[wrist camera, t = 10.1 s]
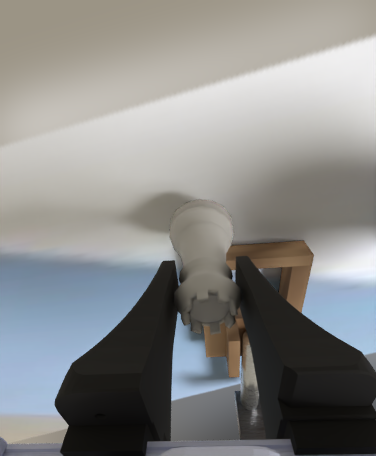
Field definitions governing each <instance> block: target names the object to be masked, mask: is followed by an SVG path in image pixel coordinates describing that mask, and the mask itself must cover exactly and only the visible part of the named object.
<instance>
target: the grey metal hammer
mask: <svg viewBox="0 0 376 456" xmlns="http://www.w3.org/2000/svg"><path fill="white" fill-rule="evenodd" d="M235 405H236V413H237V420H238V427H239V435H240V440H266V436H265V429H264V423H263V416H262V410H261V404H260V398H259V391H258V385H257V380H256V374H255V368H254V363H253V357H252V352H251V347H250V343H249V339H248V335H247V332H245V333H244V334H243V341H242V367H241V391H235Z"/></svg>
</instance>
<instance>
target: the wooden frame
mask: <svg viewBox="0 0 376 456" xmlns="http://www.w3.org/2000/svg"><path fill="white" fill-rule="evenodd" d="M236 256H248V257H249V258H250V259H251V261H252V262H253V263H254V265H255V266H256V267H257V269H260V268H276V267H282V272H281V279H280V286H279V294H280V295H281V296H282V297H283V298H284V299H286V300H287V301H288V302H289V303H290V304H291V305H292V306H293V307H294V308H296V309H297V310H298V311H299V312H302V307H303V303H304V298H305V294H306V289H307V285H308V280H309V275H310V271H311V266H312V262H313V257H314V255H313V253H312V252H311V250H310V249H309V247H308V246H307V245H306V243H305V242H304V241H291V242H277V243H262V244H248V245H233V246H230V248H229V249H228V252H227V253H226V264H227V265H228V266H229V267H230V268H231V270H236ZM237 312H238V315H234V316H235V321H236V323H235V324H234V325H233V326H232V327H231V328H230V329H229V328H228V327H226V326H225V322H224V323H222V324H220V330H221V333H218V334H212V335H211V333H210V326H204V335H205V346H206V357H223V356H226V358H227V366H228V373H229V377H239V367H240V356H242V341H243V334H244V333H245V332H246V328H245V325H244V321H243V318H242V314H241V310H240V307H239V309H238V310H237Z"/></svg>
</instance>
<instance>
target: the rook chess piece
mask: <svg viewBox="0 0 376 456" xmlns="http://www.w3.org/2000/svg"><path fill="white" fill-rule="evenodd" d="M169 231H170V240H171V242H172V245H173V247H174V250H175V251H176V252H177V253H178V255H179V256H180V257H181V258H182V263H183V269H182V270H181V271H180V277H179V281H180V283H181V285H180V286H179V287H178V289H177V290H176V292H175V294H174V304H175V306H176V309H177V311H178V312H179V313H180V314H181V320H182V322H183V324H184V326H185V325H188V324H190V322H191V331H193V332H195V333H198V334H201V332H202V326H210V333H211V335H212V334H218V333H221V330H220V324H222V323H224V322H225V326H226V327H228V328H229V329H230V328H231V327H232V326H233V325H234V324H235V323H236V321H235V316H234V315H238V312H237V310H238V309H239V307H240V305H241V301H242V298H243V297H242V293H241V289H240V288H239V286H238V285H237V284H236V283H235V282H234V281H233V280H232V277H233V275H232V272H231V268H230V267H229V266H228V265H227V264H226V253H227V252H228V249H229V248H230V246H231V243H232V239H233V235H234V231H233V224H232V220H231V215H230V214H229V213H228V212H227V210H226V209H225V208H224V207H223V206H222V205H220V204H218V203H216V202H214V201H211V200H201V199H198V200H194V201H191V202H187V203H185V204H184V205H182V206H181V207H180V208H178V209H177V210H176V211H175V213H174V215H173V216H172V218H171V220H170V229H169Z"/></svg>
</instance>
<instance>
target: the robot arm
mask: <svg viewBox="0 0 376 456" xmlns="http://www.w3.org/2000/svg"><path fill="white" fill-rule="evenodd" d="M235 283H236V284H237V285H238V286H239V288H240V289H241V293H242V297H243V298H242V301H241V305H240V310H241V314H242V318H243V321H244V325H245V328H246V332H247V335H248V339H249V343H250V347H251V352H252V357H253V363H254V368H255V374H256V380H257V385H258V391H259V398H260V404H261V410H262V416H263V423H264V429H265V436H266V440H212V441H170V438H171V436H170V435H171V434H170V433H171V384H172V356H173V343H174V336H175V328H176V321H177V313H178V311H177V309H176V306H175V304H174V294H175V292H176V290H177V289H178V287H179V286H178V279H177V273H176V266H175V260H172V261H163V262H162V263H161V265H160V267H159V269H158V271H157V273H156V275H155V276H154V278H153V280H152V281H151V283H150V285H149V286H148V288H147V289H146V291H145V292H144V294H143V295H142V296H141V298H140V299H139V301H138V302H137V303H136V305H135V306H134V307H133V308H132V310H131V311H130V312H129V313H128V314H127V315H126V317H125V318H124V319H123V320H122V321H121V322H120V323H119V324H118V325H117V326H116V327H115V328H114V329H113V330H112V331H111V332H110V333H109V334H108V335H107V336H106V337H104V338H103V339H102V340H101V341H100V342H99V343H98V344H97V345H95V346H94V347H93V348H92V349H90V350H89V351H88V352H86V353H85V354H84V355H83V356H81V357H80V358H79V359H77V360H76V361H75V362H73V363H72V365H71V367H70V369H69V370H68V372H67V374H66V376H65V378H64V380H63V383H62V385H61V387H60V390H59V392H58V394H57V397H56V399H55V407H56V409H57V411H58V412H59V414H60V415H61V416H62V417H63V419H64V420H65V421H66V422H67V424H68V425H69V427H68V430H67V433H66V435H65V438H64V441H63V443H44V444H43V443H41V444H7V442H6V441H5V440H4V439H3V438H1V437H0V456H376V411H375V409H374V408H373V406H372V403H373V401H374V400H375V398H376V372H375V370H374V369H373V367H372V366H371V364H370V363H369V361H368V360H367V359H366V358H365V356H364V355H363V354H362V352H361V351H359V350H357V349H356V348H354V347H352V346H350V345H348V344H347V343H345V342H343V341H341V340H340V339H338V338H336V337H335V336H333V335H332V334H330V333H328V332H327V331H325V330H324V329H322V328H321V327H319V326H318V325H317V324H315V323H314V322H312V321H311V320H310V319H308V318H307V317H306V316H304V315H303V314H302V313H301V312H299V311H298V310H297V309H296V308H294V307H293V306H292V305H291V304H290V303H289V302H288V301H287V300H286V299H284V298H283V297H282V296H281V295H280V294H279V293H278V292H277V291H276V290H275V289H274V287H273V286H272V285H271V284H270V283H269V282H268V281H267V280H266V278H265V277H264V276H263V275H262V274H261V273H260V271H259V270H258V269H257V267H256V266H255V265H254V263H253V262H252V261H251V259H250V258H249V257H248V256H236V280H235Z"/></svg>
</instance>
